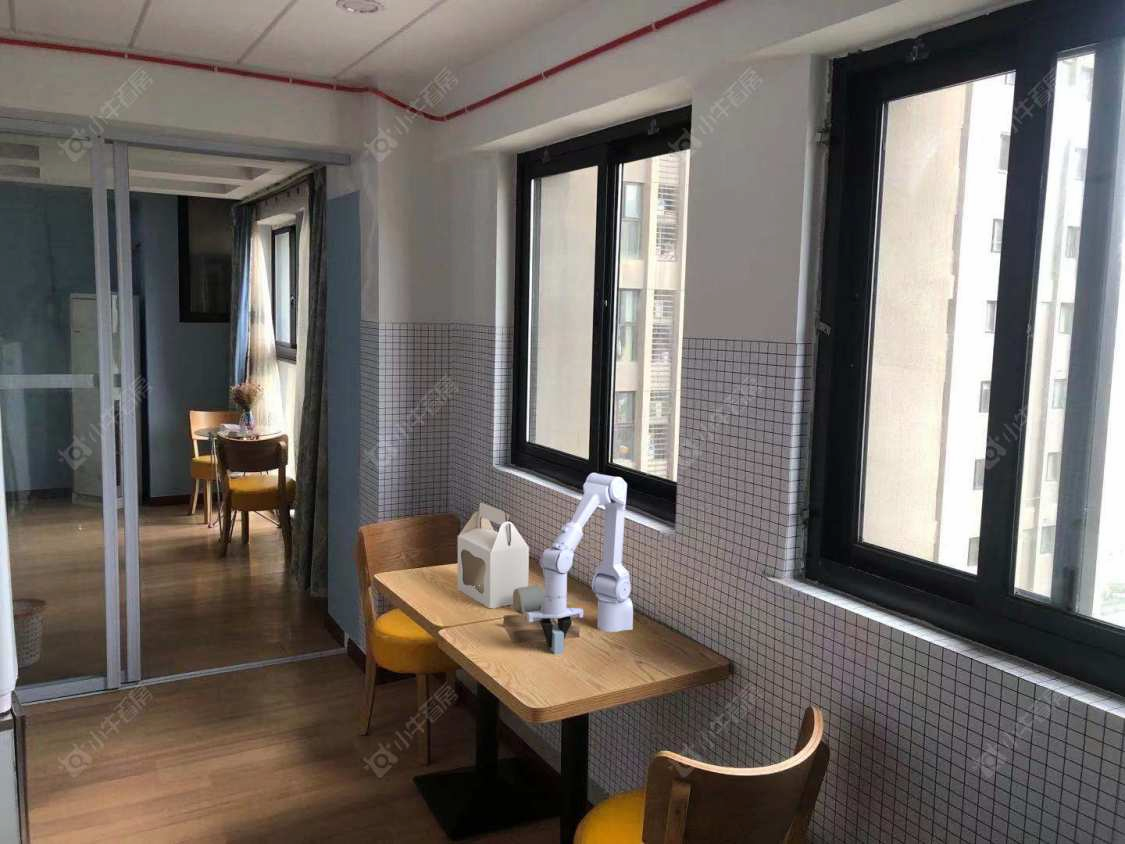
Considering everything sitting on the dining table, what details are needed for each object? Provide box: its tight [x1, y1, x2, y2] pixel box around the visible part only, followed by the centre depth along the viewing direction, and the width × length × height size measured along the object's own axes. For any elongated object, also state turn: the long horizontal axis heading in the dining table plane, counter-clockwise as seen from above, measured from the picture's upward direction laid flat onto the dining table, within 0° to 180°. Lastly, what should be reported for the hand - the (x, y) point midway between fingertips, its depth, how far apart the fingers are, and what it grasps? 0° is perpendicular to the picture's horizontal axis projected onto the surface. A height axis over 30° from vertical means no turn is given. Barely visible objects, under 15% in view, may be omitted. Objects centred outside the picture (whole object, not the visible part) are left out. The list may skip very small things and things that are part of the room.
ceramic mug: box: [513, 584, 545, 614], centre depth 265 cm, size 11×8×8 cm
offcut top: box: [552, 619, 574, 626], centre depth 249 cm, size 4×6×2 cm
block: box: [545, 623, 565, 655], centre depth 235 cm, size 2×8×6 cm, turn 18°
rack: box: [503, 613, 581, 644], centre depth 248 cm, size 18×13×4 cm
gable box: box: [457, 501, 530, 609], centre depth 279 cm, size 22×13×28 cm, turn 32°
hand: (554, 645), depth 235 cm, fingers closed on block, 2 cm apart
